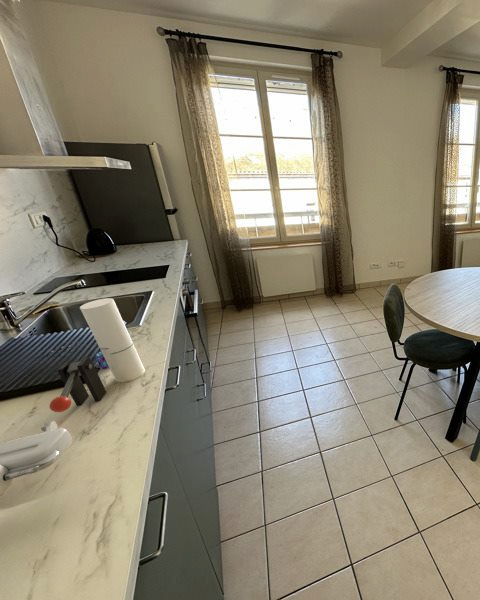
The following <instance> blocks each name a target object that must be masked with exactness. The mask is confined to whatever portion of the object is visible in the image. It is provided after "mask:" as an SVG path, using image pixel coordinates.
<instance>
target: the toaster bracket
mask: <svg viewBox="0 0 480 600" xmlns="http://www.w3.org/2000/svg"><path fill="white" fill-rule="evenodd" d="M80 361H81V362H80V363H79V364H78V365H77V368H78V370H79V371H80V373H81V375H80V376H81V377H82V378H81V377H80V376H77V378H76V380H75V382H74V385H73V387H72V389H71V391H70V394H69V396H71V399H72V401H73V402H74V404H75V405H76V407H77V408H78V407H81V406H83V405H84V403H86V401H87V399H88V398H89V397H90V395H89V393H90V394H91V396H92V399H93V401H94V403H100V402H101V401H102V399H103V398H104V396H105V395H106V393H107V389H106V387H105V386H104V383H103V381H102V380H101V379H102V378H101V377H100V375H99V373H98V372H97V369H96V366H95V365H94V363H93V361H92V360H91V357H90V356H86V357H84V358H83V359H82V360H80ZM71 363H73V362H72V360H66V361H65V362H63V364H62V365H61V366H60V367H59V368H57V370H56V371H57V373H58V375H59V376H60V378H61V380H62V382H63V384H64V386H65V385H66V383H67V380H68V378H69V376H70V374H69V373H68V372H67V370H68V368H69V366H70V364H71ZM82 379H83V381H84V383H85V384H84V383H83V381H82ZM85 385H86V386H85ZM86 387H87V389H86ZM87 390H88V391H87Z"/></svg>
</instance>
